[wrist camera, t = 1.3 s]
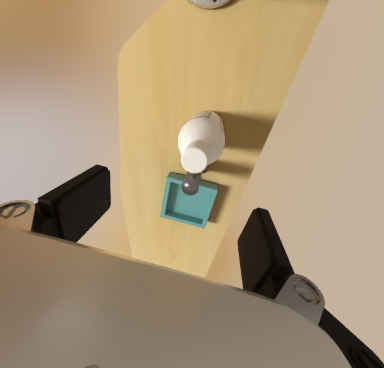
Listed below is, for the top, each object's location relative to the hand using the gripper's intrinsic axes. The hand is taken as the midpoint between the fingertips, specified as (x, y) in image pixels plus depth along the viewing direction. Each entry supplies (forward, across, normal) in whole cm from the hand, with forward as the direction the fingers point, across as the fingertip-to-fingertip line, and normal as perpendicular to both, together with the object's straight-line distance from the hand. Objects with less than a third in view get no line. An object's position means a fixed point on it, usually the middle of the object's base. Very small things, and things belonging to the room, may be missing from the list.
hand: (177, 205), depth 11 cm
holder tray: (+28, 0, +18) cm, 33 cm away
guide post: (+28, 0, +8) cm, 29 cm away
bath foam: (+28, 0, 0) cm, 28 cm away
